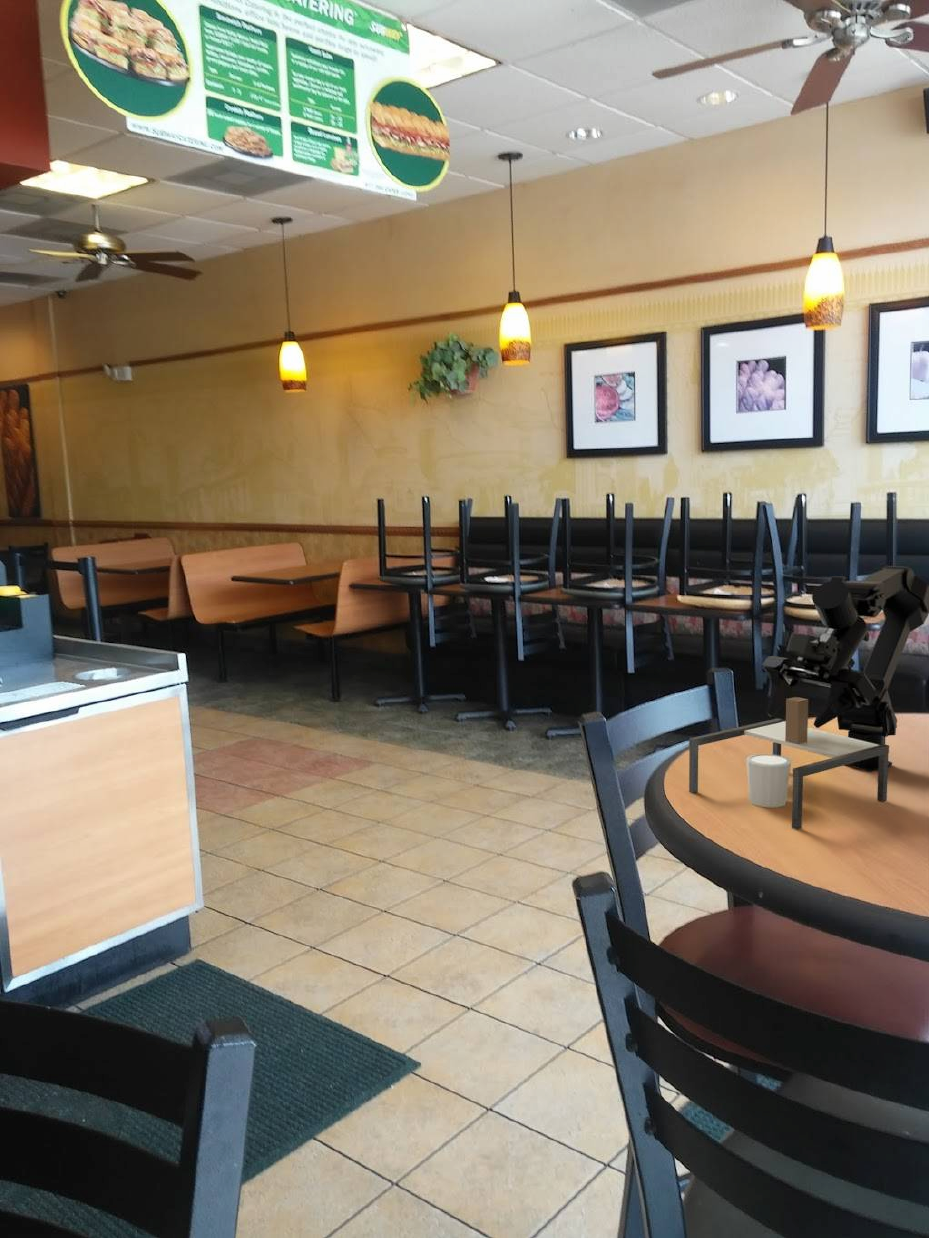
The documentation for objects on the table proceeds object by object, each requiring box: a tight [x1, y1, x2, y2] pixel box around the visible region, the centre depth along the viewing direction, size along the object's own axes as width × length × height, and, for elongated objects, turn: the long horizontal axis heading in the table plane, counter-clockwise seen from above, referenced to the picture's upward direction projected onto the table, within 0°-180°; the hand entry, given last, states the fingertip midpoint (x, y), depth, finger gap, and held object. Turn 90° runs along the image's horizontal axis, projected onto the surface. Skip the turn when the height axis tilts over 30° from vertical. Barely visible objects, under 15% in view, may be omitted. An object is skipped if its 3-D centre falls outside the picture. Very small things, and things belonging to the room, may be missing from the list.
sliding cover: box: [744, 696, 878, 758], centre depth 164 cm, size 10×19×8 cm, turn 33°
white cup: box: [745, 753, 792, 809], centre depth 160 cm, size 7×7×7 cm
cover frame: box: [688, 718, 890, 830], centre depth 162 cm, size 22×22×9 cm
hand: (791, 720), depth 162 cm, fingers open, 9 cm apart
